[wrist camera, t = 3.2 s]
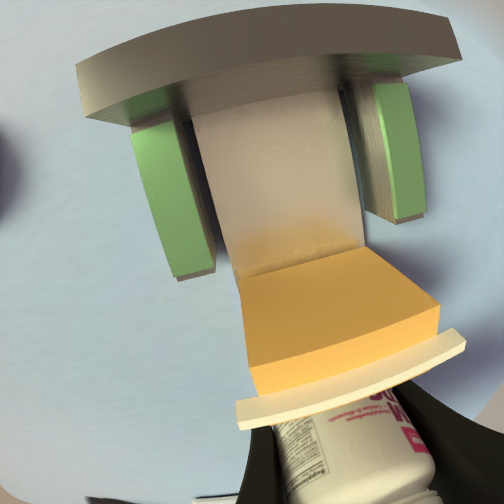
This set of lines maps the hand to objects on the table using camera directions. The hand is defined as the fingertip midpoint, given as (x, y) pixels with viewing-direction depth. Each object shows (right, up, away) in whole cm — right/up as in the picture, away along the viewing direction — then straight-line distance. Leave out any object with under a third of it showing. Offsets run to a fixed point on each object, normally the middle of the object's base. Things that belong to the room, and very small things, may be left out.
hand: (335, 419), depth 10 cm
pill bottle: (0, +1, +2) cm, 2 cm away
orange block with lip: (-1, +5, 0) cm, 5 cm away
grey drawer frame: (-2, +8, -1) cm, 8 cm away
